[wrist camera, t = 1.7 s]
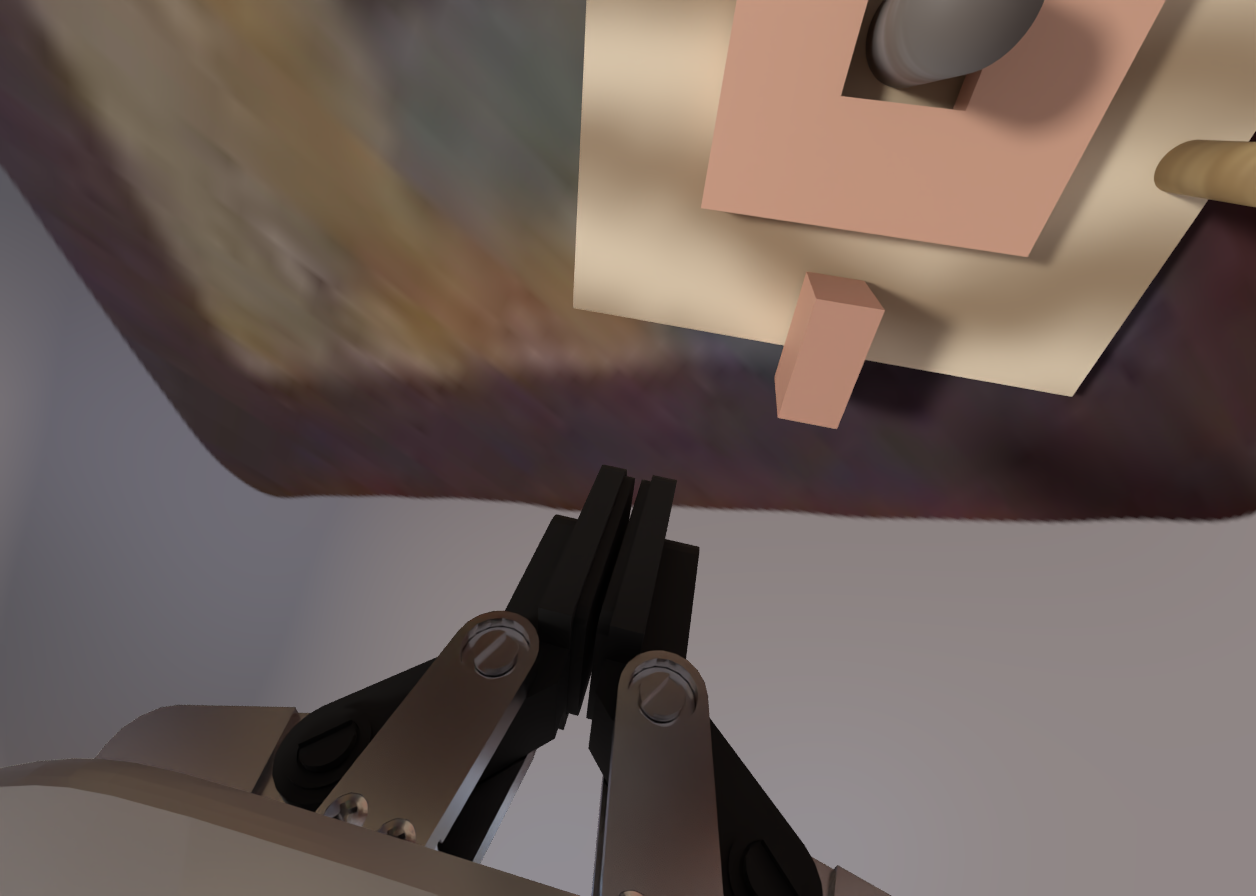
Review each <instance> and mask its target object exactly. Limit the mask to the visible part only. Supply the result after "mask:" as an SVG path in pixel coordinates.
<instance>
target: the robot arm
mask: <svg viewBox="0 0 1256 896" xmlns="http://www.w3.org/2000/svg"><path fill="white" fill-rule="evenodd" d="M634 483H635V478H632V477H628V476H627V470H626V469H622V468H617V467H612V466H608V465H602V467H601V469H600V471H599V473H598V475H597V478H596V480H595V482H594V484H593V486H592V489H591V491H590V493H589V495H588V498H587V500H586V502H585V504H584V507H583V509H582V511H581V513H580V516H579V518H578V519H574V518H570V517H566V516H561V515H555V516H554V517H553V519H552V520H551V522H550V524H549V526H548V528H547V530H546V532H545V534H544V536H543V538H542V540H541V541H540V543H539V546H538V547H537V549H536V552H535V553H534V555H533V557H532V559H531V561H530V563H529V565H528V567H527V569H526V571H525V573H524V575H523V577H522V578H521V580H520V582H519V584H518V586H517V588H516V590H515V592H514V594H513V596H512V598H511V600H510V602H509V604H508V606H507V608H506V610H505V611H492V612H488V613H484V614H481V615H479V616H477V617H475V618H473V619H472V620H470V621H468V622H467V623H466V624H465V625H464V626H463V627H462V628H461V629H460V630H459V631H458V632H457V633H456V635H455V636H454V637H453V638H452V639H451V641H450V642H449V643H448V645H447V646H446V647H445V648H444V650H443V651H442V652H441V653H440V655H439V656H438V657H436V658H434V659H432V660H429V661H427V662H425V663H422V664H420V665H418V666H415V667H413V668H411V669H409V670H406V671H404V672H401V673H399V674H397V675H394V676H392V677H390V678H387V679H385V680H383V681H380V682H378V683H376V684H373V685H371V686H369V687H366V688H364V689H362V690H360V691H357V692H355V693H352V694H350V695H348V696H345V697H343V698H341V699H338V700H336V701H334V702H331V703H329V704H327V705H324V706H322V707H321V708H319V709H317V710H315V711H314V712H312V713H298V711H297V709H296V707H260V706H213V705H211V706H210V705H174V706H166V707H160V708H158V709H155V710H153V711H151V712H148V713H146V714H143V715H141V716H139V717H138V718H136V719H135V720H133V721H132V722H130V723H129V724H127V725H126V726H124V727H123V728H121V729H120V730H119V731H118V732H117V733H116V734H115V735H114V737H112V738H111V739H110V740H109V741H108V743H106V744H105V746H104V747H103V748H102V750H101V751H100V752H99V754H98V755H97V756H96V757H95V758H94V759H81V758H74V759H73V758H71V759H59V760H46V761H36V762H30V763H25V764H20V765H14V766H8V767H3V768H0V896H579V895H576V894H573V893H570V892H567V891H563V890H560V889H557V888H554V887H551V886H547V885H544V884H541V883H538V882H535V881H531V880H529V879H525V878H522V877H519V876H516V875H513V874H510V873H506V872H503V871H500V870H497V869H494V868H491V867H487V866H484V865H481V864H480V863H481V861H482V859H483V857H484V855H485V853H486V852H487V850H488V848H489V846H490V844H491V842H492V840H493V838H494V836H495V834H496V832H497V830H498V828H499V826H500V824H501V822H502V820H503V818H504V816H505V814H506V812H507V810H508V808H509V806H510V804H511V802H512V800H513V798H514V796H515V794H516V792H517V790H518V788H519V786H520V784H521V782H522V780H523V778H524V776H525V774H526V772H527V770H528V768H529V766H530V764H531V762H532V760H533V758H534V755H535V752H536V749H537V748H539V747H541V746H543V745H544V744H546V743H548V742H549V741H551V740H553V739H555V736H556V733H557V730H558V729H562V730H564V727H565V724H566V720H567V717H568V714H569V713H570V714H573V715H577V716H578V715H579V712H580V709H581V706H582V703H583V699H584V696H585V692H586V689H587V686H588V683H589V679H590V676H591V682H590V691H589V700H588V708H587V717H586V718H588V719H592V725H591V733H590V741H589V750H590V752H591V754H592V755H593V757H594V759H595V761H596V763H597V765H598V767H599V768H600V770H601V772H602V774H603V777H602V786H601V797H600V808H599V819H598V830H597V840H596V852H595V862H594V873H593V884H592V895H591V896H891V895H889V894H887V893H886V892H884V891H882V890H881V889H879V888H877V887H875V886H874V885H872V884H870V883H868V882H866V881H865V880H863V879H861V878H859V877H857V876H856V875H854V874H852V873H851V872H849V871H847V870H845V869H844V868H842V867H840V866H838V865H837V866H836V867H835V868H834V869H832V868H830V867H829V866H827V865H825V864H823V863H822V862H820V861H818V860H816V859H815V858H813V857H811V856H810V854H809V852H808V850H807V849H806V847H805V845H804V844H803V843H802V841H801V840H800V839H799V837H798V836H797V834H796V833H795V832H794V830H793V829H792V828H791V826H790V825H789V824H788V823H787V821H786V820H785V818H784V817H783V816H782V814H781V813H780V812H779V810H778V809H777V808H776V806H775V805H774V804H773V802H772V801H771V800H770V798H769V797H768V796H767V794H766V793H765V791H764V790H763V789H762V787H761V786H760V785H759V784H758V782H757V781H756V779H755V778H754V777H753V776H752V774H751V773H750V771H749V770H748V769H747V767H746V766H745V765H744V764H743V762H742V761H741V759H740V758H739V757H738V755H737V754H736V753H735V751H734V750H733V748H732V747H731V746H730V744H729V743H728V742H727V740H726V739H725V738H724V737H723V735H722V734H721V732H720V731H719V730H718V728H717V727H716V726H715V724H714V723H713V722H712V720H711V719H710V717H709V704H708V695H707V690H706V686H705V682H704V680H703V679H702V677H701V675H700V673H699V672H698V670H697V669H696V668H695V667H694V666H693V665H692V664H691V663H690V662H689V661H688V660H686V654H687V646H688V638H689V630H690V622H691V614H692V606H693V598H694V590H695V582H696V574H697V566H698V558H699V547H697V546H693V545H689V544H684V543H680V542H675V541H671V540H667V539H665V536H666V532H667V527H668V522H669V517H670V512H671V507H672V502H673V498H674V493H675V488H676V483H677V480H673V479H668V478H664V477H659V476H654V475H653V477H652V480H651V481H646V480H642V481H641V484H640V488H639V491H638V494H637V497H636V500H635V504H634V507H633V510H632V513H631V516H630V510H631V504H632V497H633V490H634ZM629 517H630V519H629ZM591 672H592V674H591Z"/></svg>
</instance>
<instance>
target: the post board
mask: <svg viewBox="0 0 1256 896" xmlns="http://www.w3.org/2000/svg"><path fill="white" fill-rule="evenodd" d="M736 1H737V0H587V6H586V28H585V51H584V73H583V95H582V118H581V140H580V162H579V185H578V207H577V229H576V252H575V274H574V297H573V308H577V309H583V310H588V311H594V312H600V313H605V314H611V315H616V316H622V317H628V318H633V319H639V320H644V321H650V322H656V323H661V324H667V325H672V326H678V327H684V328H689V329H695V330H701V331H706V332H712V333H717V334H723V335H729V336H734V337H740V338H745V339H751V340H757V341H762V342H768V343H774V344H779V345H784V344H785V341H786V338H787V334H788V331H789V328H790V325H791V321H792V318H793V315H794V311H795V308H796V305H797V301H798V298H799V295H800V291H801V288H802V285H803V281H804V278H805V275H806V272H812V273H819V274H825V275H831V276H837V277H844V278H850V279H856V280H862V281H865V282H866V284H867V285H868V287H869V288H870V290H871V291H872V292H873V294H874V295H875V297H876V298H877V300H878V301H879V302H880V304H881V305H882V307H883V308H884V310H885V312H884V314H883V316H882V319H881V321H880V324H879V326H878V329H877V331H876V334H875V336H874V339H873V341H872V344H871V346H870V348H869V351H868V353H867V356H866V358H865V360H869V361H875V362H880V363H886V364H891V365H897V366H903V367H908V368H914V369H920V370H925V371H931V372H936V373H942V374H948V375H953V376H959V377H964V378H970V379H976V380H981V381H987V382H993V383H998V384H1004V385H1009V386H1015V387H1021V388H1026V389H1032V390H1037V391H1043V392H1049V393H1054V394H1060V395H1066V396H1071V397H1072V396H1073V395H1074V393H1075V392H1076V390H1077V389H1078V387H1079V386H1080V384H1081V383H1082V382H1083V380H1084V379H1085V377H1086V376H1087V374H1088V373H1089V371H1090V370H1091V369H1092V367H1093V366H1094V364H1095V363H1096V361H1097V360H1098V358H1099V357H1100V356H1101V354H1102V353H1103V351H1104V350H1105V348H1106V347H1107V345H1108V344H1109V343H1110V341H1111V340H1112V338H1113V337H1114V335H1115V334H1116V332H1117V331H1118V330H1119V328H1120V327H1121V325H1122V324H1123V322H1124V321H1125V319H1126V318H1127V317H1128V315H1129V314H1130V312H1131V311H1132V309H1133V308H1134V306H1135V305H1136V304H1137V302H1138V301H1139V299H1140V298H1141V296H1142V295H1143V293H1144V292H1145V290H1146V289H1147V288H1148V286H1149V285H1150V283H1151V282H1152V280H1153V279H1154V277H1155V276H1156V275H1157V273H1158V272H1159V270H1160V269H1161V267H1162V266H1163V264H1164V263H1165V262H1166V260H1167V259H1168V257H1169V256H1170V254H1171V253H1172V251H1173V250H1174V249H1175V247H1176V246H1177V244H1178V243H1179V241H1180V240H1181V238H1182V237H1183V236H1184V234H1185V233H1186V231H1187V230H1188V228H1189V227H1190V225H1191V224H1192V223H1193V221H1194V220H1195V218H1196V217H1197V215H1198V214H1199V212H1200V211H1201V210H1202V208H1203V207H1204V205H1205V204H1206V202H1207V201H1208V199H1210V200H1216V201H1222V202H1228V203H1234V204H1239V205H1245V206H1251V207H1256V142H1249V140H1250V139H1251V137H1252V136H1253V134H1254V133H1255V131H1256V0H1166V1H1165V2H1164V4H1163V6H1162V8H1161V10H1160V12H1159V14H1158V15H1157V17H1156V19H1155V21H1154V23H1153V25H1152V27H1151V28H1150V30H1149V32H1148V34H1147V36H1146V38H1145V40H1144V41H1143V43H1142V45H1141V47H1140V49H1139V51H1138V53H1137V54H1136V56H1135V58H1134V60H1133V62H1132V64H1131V66H1130V67H1129V69H1128V71H1127V73H1126V75H1125V77H1124V79H1123V81H1122V82H1121V84H1120V86H1119V88H1118V90H1117V92H1116V94H1115V95H1114V97H1113V99H1112V101H1111V103H1110V105H1109V107H1108V108H1107V110H1106V112H1105V114H1104V116H1103V118H1102V120H1101V121H1100V123H1099V125H1098V127H1097V129H1096V131H1095V133H1094V134H1093V136H1092V138H1091V140H1090V142H1089V144H1088V146H1087V147H1086V149H1085V151H1084V153H1083V155H1082V157H1081V159H1080V160H1079V162H1078V164H1077V166H1076V168H1075V170H1074V172H1073V173H1072V175H1071V177H1070V179H1069V181H1068V183H1067V185H1066V187H1065V188H1064V190H1063V192H1062V194H1061V196H1060V198H1059V200H1058V201H1057V203H1056V205H1055V207H1054V209H1053V211H1052V213H1051V214H1050V216H1049V218H1048V220H1047V222H1046V224H1045V226H1044V227H1043V229H1042V231H1041V233H1040V235H1039V237H1038V239H1037V240H1036V242H1035V244H1034V246H1033V248H1032V250H1031V252H1030V253H1029V255H1028V257H1023V256H1016V255H1010V254H1003V253H996V252H990V251H983V250H976V249H970V248H963V247H957V246H950V245H943V244H937V243H930V242H923V241H917V240H910V239H903V238H897V237H890V236H883V235H877V234H870V233H863V232H857V231H850V230H843V229H837V228H830V227H823V226H817V225H810V224H803V223H797V222H790V221H783V220H777V219H770V218H763V217H757V216H750V215H743V214H737V213H730V212H723V211H717V210H710V209H703V208H701V204H702V198H703V192H704V187H705V181H706V175H707V169H708V163H709V158H710V152H711V146H712V140H713V134H714V129H715V123H716V117H717V111H718V105H719V99H720V94H721V88H722V82H723V76H724V70H725V65H726V59H727V53H728V47H729V41H730V36H731V30H732V24H733V18H734V12H735V7H736ZM1043 3H1044V0H868V2H867V6H866V9H865V13H864V16H863V20H862V23H861V27H860V30H859V34H858V37H857V41H856V44H855V48H854V51H853V55H852V58H851V62H850V66H849V69H848V73H847V76H846V80H845V83H844V87H843V90H842V94H841V96H845V97H853V98H862V99H870V100H878V101H886V102H895V103H903V104H911V105H920V106H928V107H936V108H944V109H953V107H954V105H955V102H956V100H957V97H958V94H959V92H960V89H961V87H962V84H963V82H964V79H965V77H966V74H970V73H973V72H976V71H979V70H981V69H983V68H985V67H987V66H989V65H991V64H993V63H994V62H996V61H997V60H999V59H1000V58H1002V57H1003V56H1004V55H1005V54H1007V53H1008V52H1009V51H1010V50H1011V49H1012V48H1013V47H1014V46H1015V45H1016V44H1017V43H1018V42H1019V41H1020V40H1021V39H1022V37H1023V36H1024V35H1025V34H1026V32H1027V31H1028V30H1029V28H1030V27H1031V25H1032V24H1033V22H1034V20H1035V19H1036V17H1037V15H1038V13H1039V11H1040V9H1041V7H1042V5H1043Z"/></svg>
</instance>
